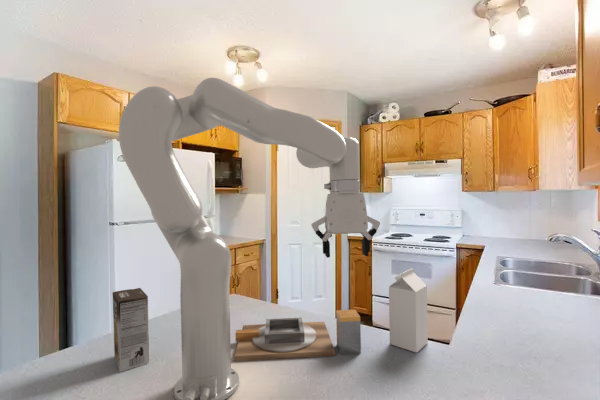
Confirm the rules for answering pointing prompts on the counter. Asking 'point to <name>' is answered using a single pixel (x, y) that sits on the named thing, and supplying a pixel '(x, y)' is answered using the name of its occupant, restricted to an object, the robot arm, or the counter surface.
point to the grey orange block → (348, 332)
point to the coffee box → (130, 328)
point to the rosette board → (283, 340)
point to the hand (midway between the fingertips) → (346, 255)
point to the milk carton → (408, 312)
